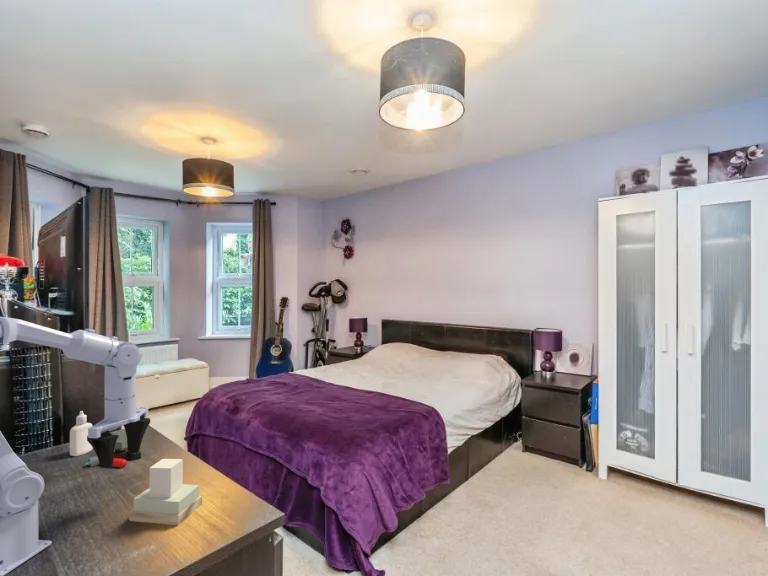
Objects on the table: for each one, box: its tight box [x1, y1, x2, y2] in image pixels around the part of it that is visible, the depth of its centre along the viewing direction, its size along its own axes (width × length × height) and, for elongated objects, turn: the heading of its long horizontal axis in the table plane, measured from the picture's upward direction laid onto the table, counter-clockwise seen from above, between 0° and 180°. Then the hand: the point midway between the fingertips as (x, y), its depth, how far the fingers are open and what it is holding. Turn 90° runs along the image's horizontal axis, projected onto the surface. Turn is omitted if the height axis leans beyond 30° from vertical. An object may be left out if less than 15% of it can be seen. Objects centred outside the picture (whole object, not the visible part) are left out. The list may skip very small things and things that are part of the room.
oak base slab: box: [128, 494, 203, 526], centre depth 86 cm, size 8×11×2 cm
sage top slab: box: [133, 483, 200, 514], centre depth 86 cm, size 7×10×2 cm
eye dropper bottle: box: [69, 410, 94, 457], centre depth 117 cm, size 4×6×12 cm
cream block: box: [149, 458, 184, 498], centre depth 86 cm, size 4×4×6 cm
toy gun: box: [85, 440, 142, 469], centre depth 110 cm, size 10×12×5 cm
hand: (120, 459), depth 88 cm, fingers open, 7 cm apart
